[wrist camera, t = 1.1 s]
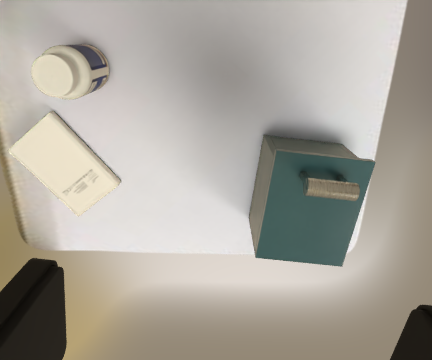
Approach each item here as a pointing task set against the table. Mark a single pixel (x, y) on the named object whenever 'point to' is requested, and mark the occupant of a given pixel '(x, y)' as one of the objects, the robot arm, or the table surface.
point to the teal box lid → (312, 206)
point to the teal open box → (266, 165)
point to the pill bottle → (70, 71)
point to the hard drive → (64, 164)
